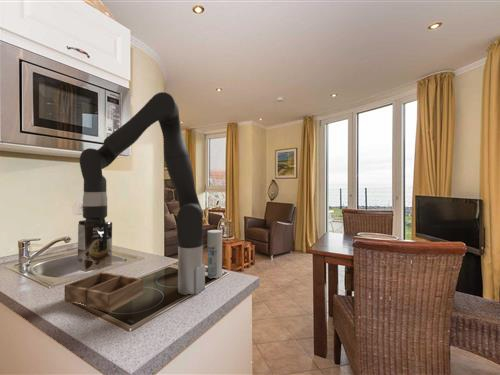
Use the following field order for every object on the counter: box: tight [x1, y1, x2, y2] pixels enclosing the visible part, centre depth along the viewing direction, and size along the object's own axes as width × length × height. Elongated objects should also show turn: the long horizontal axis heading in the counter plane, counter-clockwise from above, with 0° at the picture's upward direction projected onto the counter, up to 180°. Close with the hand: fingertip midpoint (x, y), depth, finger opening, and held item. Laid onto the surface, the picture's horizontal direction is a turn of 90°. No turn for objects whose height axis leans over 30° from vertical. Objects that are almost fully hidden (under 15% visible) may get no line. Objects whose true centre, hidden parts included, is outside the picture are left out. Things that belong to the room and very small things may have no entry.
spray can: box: [207, 229, 223, 279], centre depth 108 cm, size 6×6×20 cm
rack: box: [64, 271, 144, 313], centre depth 87 cm, size 21×14×6 cm, turn 70°
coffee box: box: [76, 223, 113, 273], centre depth 88 cm, size 9×6×16 cm
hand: (95, 249), depth 88 cm, fingers closed on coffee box, 7 cm apart
